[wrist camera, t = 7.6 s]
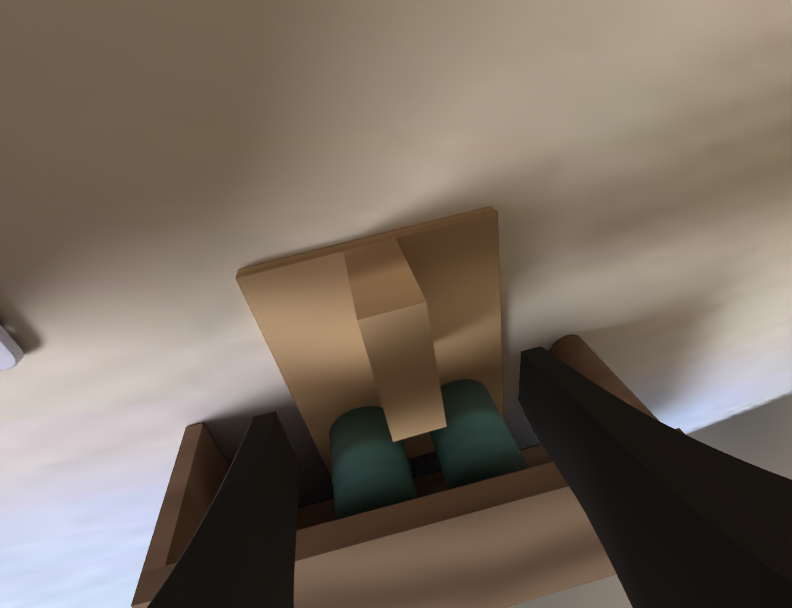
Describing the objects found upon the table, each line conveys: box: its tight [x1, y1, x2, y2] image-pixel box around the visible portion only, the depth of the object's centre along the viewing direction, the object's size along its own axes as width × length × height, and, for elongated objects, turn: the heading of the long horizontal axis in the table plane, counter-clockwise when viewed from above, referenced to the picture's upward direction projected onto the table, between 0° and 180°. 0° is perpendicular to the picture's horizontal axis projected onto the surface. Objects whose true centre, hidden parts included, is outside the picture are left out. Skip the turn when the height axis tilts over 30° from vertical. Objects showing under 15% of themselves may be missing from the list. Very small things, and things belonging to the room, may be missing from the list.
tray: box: [236, 206, 527, 520], centre depth 15 cm, size 12×9×5 cm
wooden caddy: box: [131, 335, 684, 608], centre depth 17 cm, size 8×18×6 cm, turn 98°
